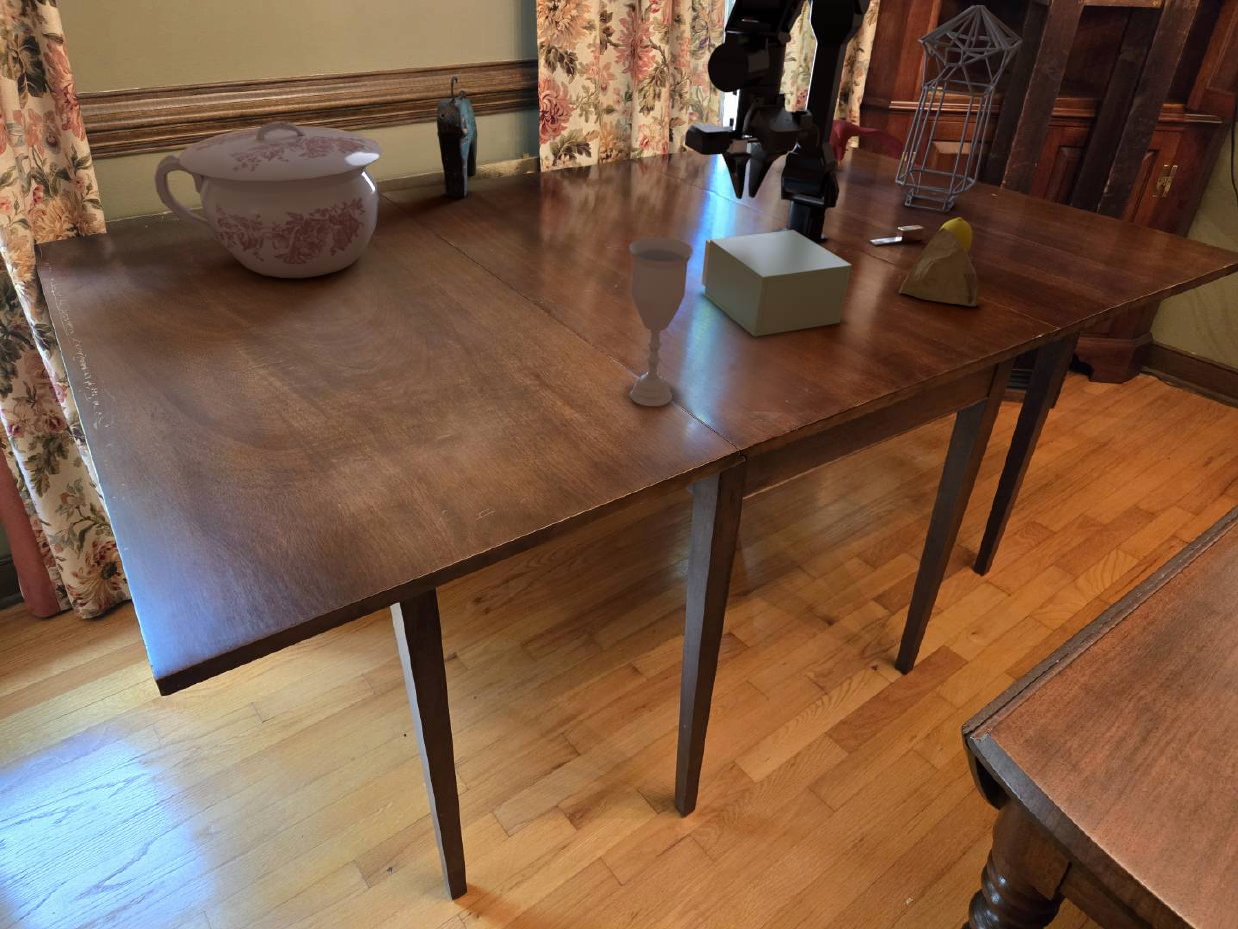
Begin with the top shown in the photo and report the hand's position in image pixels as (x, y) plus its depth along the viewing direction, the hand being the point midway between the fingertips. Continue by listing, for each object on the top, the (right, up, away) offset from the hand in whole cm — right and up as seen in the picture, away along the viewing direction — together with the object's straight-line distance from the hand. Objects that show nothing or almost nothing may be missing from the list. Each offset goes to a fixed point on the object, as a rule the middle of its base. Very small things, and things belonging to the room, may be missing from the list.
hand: (745, 197), depth 120 cm
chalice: (-15, -31, -22) cm, 41 cm away
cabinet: (+4, -16, 0) cm, 17 cm away
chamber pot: (-67, -8, +7) cm, 68 cm away
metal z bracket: (+31, +1, +26) cm, 40 cm away
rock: (+30, -14, +5) cm, 34 cm away
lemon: (+36, -6, +17) cm, 40 cm away
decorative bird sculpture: (+29, +28, +64) cm, 76 cm away
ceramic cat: (-50, +16, +43) cm, 68 cm away
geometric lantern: (+43, +12, +44) cm, 63 cm away
